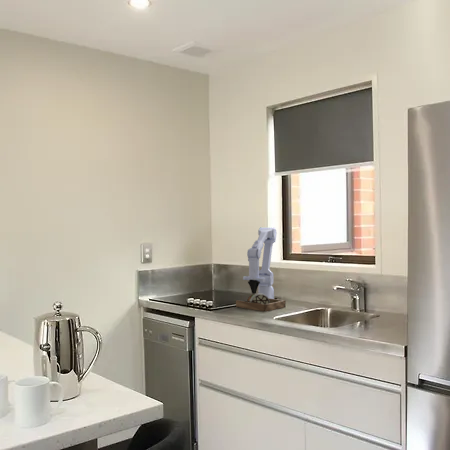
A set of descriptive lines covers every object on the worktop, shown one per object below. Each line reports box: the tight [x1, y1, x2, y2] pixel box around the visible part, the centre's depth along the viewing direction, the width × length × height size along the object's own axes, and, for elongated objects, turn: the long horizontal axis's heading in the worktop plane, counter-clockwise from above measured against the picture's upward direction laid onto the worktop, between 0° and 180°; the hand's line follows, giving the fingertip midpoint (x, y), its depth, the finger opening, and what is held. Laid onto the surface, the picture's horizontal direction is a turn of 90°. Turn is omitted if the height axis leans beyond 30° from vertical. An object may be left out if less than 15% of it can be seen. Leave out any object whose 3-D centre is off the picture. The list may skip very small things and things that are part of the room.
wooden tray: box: [235, 298, 287, 312], centre depth 291 cm, size 18×21×4 cm
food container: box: [246, 293, 270, 304], centre depth 290 cm, size 12×6×10 cm
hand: (253, 293), depth 294 cm, fingers closed
